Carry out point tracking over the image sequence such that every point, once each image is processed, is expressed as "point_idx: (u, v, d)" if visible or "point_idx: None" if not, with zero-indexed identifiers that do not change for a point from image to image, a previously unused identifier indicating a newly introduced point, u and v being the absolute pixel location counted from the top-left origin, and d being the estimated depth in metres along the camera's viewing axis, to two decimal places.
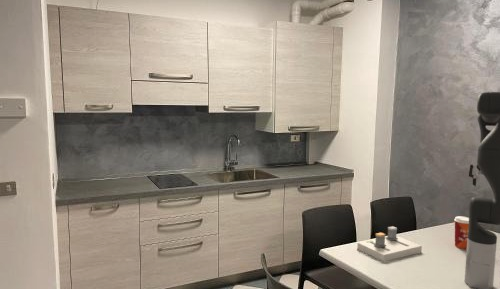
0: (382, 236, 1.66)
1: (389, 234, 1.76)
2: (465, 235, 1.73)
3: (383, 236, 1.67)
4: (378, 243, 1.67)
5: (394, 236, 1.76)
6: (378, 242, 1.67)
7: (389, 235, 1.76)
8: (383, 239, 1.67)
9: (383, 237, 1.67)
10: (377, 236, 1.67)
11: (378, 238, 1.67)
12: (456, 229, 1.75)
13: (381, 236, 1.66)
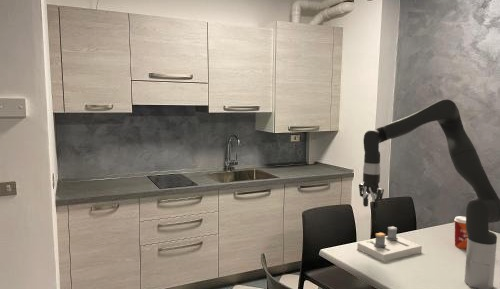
0: (382, 236, 1.66)
1: (389, 234, 1.76)
2: (465, 235, 1.73)
3: (383, 236, 1.67)
4: (378, 243, 1.67)
5: (394, 236, 1.76)
6: (378, 242, 1.67)
7: (389, 235, 1.76)
8: (383, 239, 1.67)
9: (383, 237, 1.67)
10: (377, 236, 1.67)
11: (378, 238, 1.67)
12: (456, 229, 1.75)
13: (381, 236, 1.66)
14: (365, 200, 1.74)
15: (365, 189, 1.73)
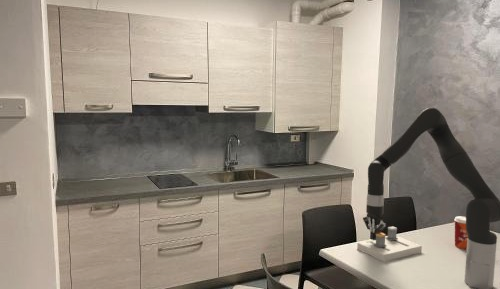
0: (382, 236, 1.66)
1: (389, 234, 1.76)
2: (465, 235, 1.73)
3: (383, 236, 1.67)
4: (378, 243, 1.67)
5: (394, 236, 1.76)
6: (378, 242, 1.66)
7: (389, 235, 1.76)
8: (383, 239, 1.67)
9: (383, 238, 1.67)
10: (377, 236, 1.67)
11: (378, 238, 1.66)
12: (456, 229, 1.75)
13: (381, 236, 1.66)
14: None
15: (369, 221, 1.71)
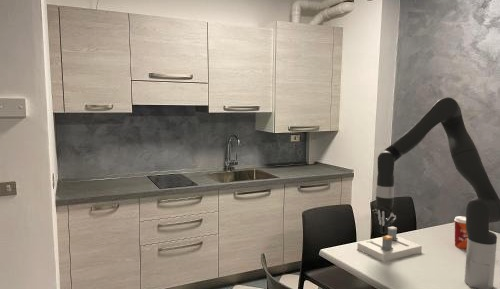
0: (389, 239, 1.63)
1: (389, 234, 1.76)
2: (465, 235, 1.73)
3: (390, 239, 1.63)
4: (385, 246, 1.63)
5: (394, 236, 1.76)
6: (385, 245, 1.63)
7: (389, 235, 1.76)
8: (390, 242, 1.63)
9: (390, 240, 1.63)
10: (384, 239, 1.63)
11: (385, 241, 1.63)
12: (456, 229, 1.75)
13: (388, 239, 1.63)
14: None
15: (379, 213, 1.65)
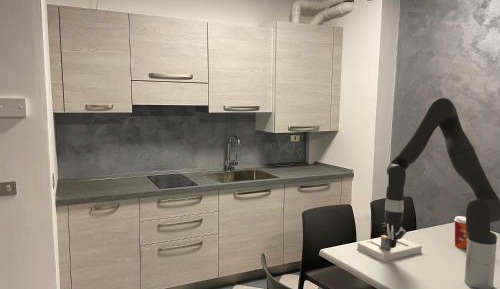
0: (387, 238, 1.64)
1: None
2: (465, 235, 1.73)
3: (388, 238, 1.64)
4: (383, 245, 1.64)
5: None
6: (384, 244, 1.64)
7: None
8: (388, 241, 1.64)
9: (388, 240, 1.64)
10: (382, 238, 1.64)
11: (383, 240, 1.64)
12: (456, 229, 1.75)
13: (386, 238, 1.63)
14: None
15: (388, 227, 1.61)
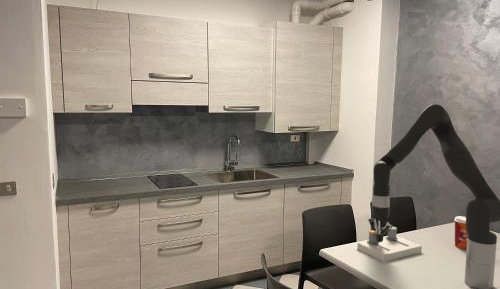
0: (375, 233, 1.70)
1: (389, 234, 1.76)
2: (465, 235, 1.73)
3: None
4: (371, 240, 1.70)
5: (394, 236, 1.76)
6: (371, 239, 1.70)
7: (389, 235, 1.76)
8: None
9: None
10: (370, 233, 1.71)
11: (371, 235, 1.70)
12: (456, 229, 1.75)
13: (374, 233, 1.70)
14: None
15: (375, 222, 1.67)
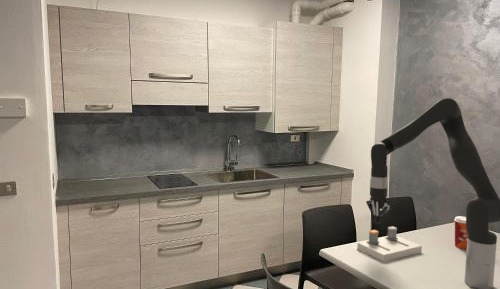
0: (375, 233, 1.70)
1: (389, 234, 1.76)
2: (465, 235, 1.73)
3: (376, 233, 1.70)
4: (371, 240, 1.70)
5: (394, 236, 1.76)
6: (372, 239, 1.70)
7: (389, 235, 1.76)
8: (376, 236, 1.71)
9: (376, 235, 1.70)
10: (370, 233, 1.71)
11: (371, 235, 1.70)
12: (456, 229, 1.75)
13: (374, 233, 1.70)
14: None
15: (373, 204, 1.68)
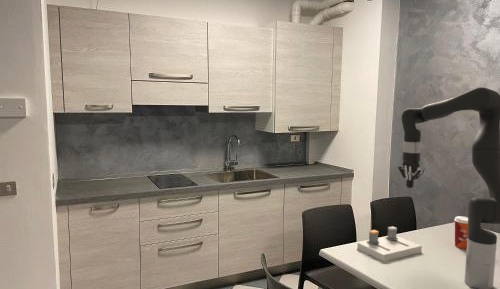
0: (375, 233, 1.70)
1: (389, 234, 1.76)
2: (465, 235, 1.73)
3: (376, 233, 1.70)
4: (371, 240, 1.70)
5: (394, 236, 1.76)
6: (372, 239, 1.70)
7: (389, 235, 1.76)
8: (376, 236, 1.71)
9: (376, 235, 1.70)
10: (370, 233, 1.71)
11: (371, 235, 1.70)
12: (456, 229, 1.75)
13: (374, 233, 1.70)
14: None
15: (406, 169, 1.72)
